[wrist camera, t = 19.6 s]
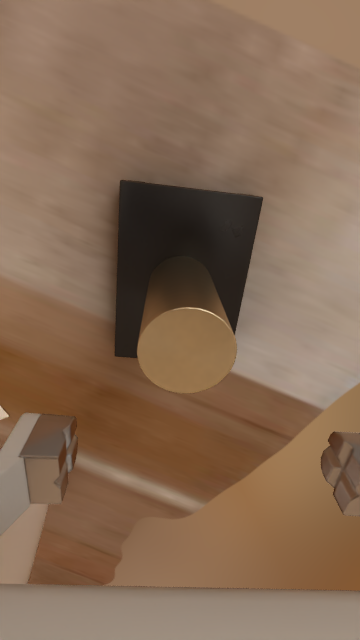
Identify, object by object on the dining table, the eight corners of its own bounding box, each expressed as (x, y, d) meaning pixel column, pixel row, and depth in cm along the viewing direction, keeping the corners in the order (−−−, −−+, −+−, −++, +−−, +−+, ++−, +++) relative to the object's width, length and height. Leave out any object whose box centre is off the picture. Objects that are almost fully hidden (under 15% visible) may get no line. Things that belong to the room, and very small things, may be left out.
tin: (150, 252, 24) (139, 302, 15) (217, 259, 24) (246, 312, 15) (146, 313, 26) (134, 390, 17) (207, 319, 26) (227, 397, 17)
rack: (123, 179, 23) (119, 180, 22) (257, 195, 24) (263, 197, 22) (117, 347, 29) (114, 356, 27) (225, 356, 30) (228, 365, 28)
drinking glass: (15, 422, 32) (-98, 605, 18) (79, 444, 34) (18, 628, 20) (-3, 465, 34) (-115, 656, 21) (57, 484, 36) (-10, 673, 22)
